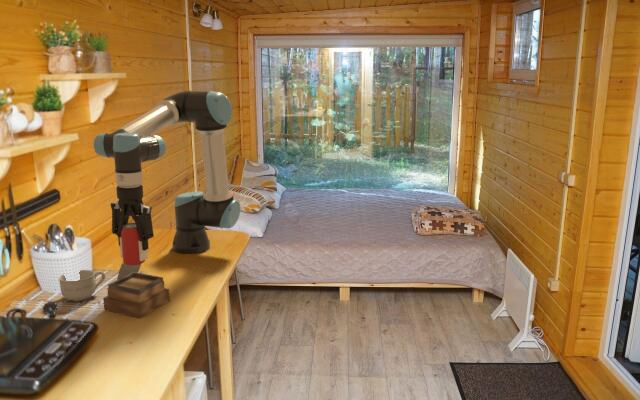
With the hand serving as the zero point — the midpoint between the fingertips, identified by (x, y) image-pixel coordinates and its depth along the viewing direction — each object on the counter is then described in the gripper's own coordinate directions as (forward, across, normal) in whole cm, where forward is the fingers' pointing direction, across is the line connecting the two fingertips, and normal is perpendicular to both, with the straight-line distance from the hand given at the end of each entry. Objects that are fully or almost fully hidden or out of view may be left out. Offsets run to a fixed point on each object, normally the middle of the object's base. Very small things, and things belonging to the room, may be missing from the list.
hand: (134, 257), depth 171 cm
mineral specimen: (+16, -16, +15) cm, 27 cm away
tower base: (+16, 0, 0) cm, 16 cm away
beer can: (+2, 0, 0) cm, 2 cm away
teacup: (+16, -20, -2) cm, 26 cm away
